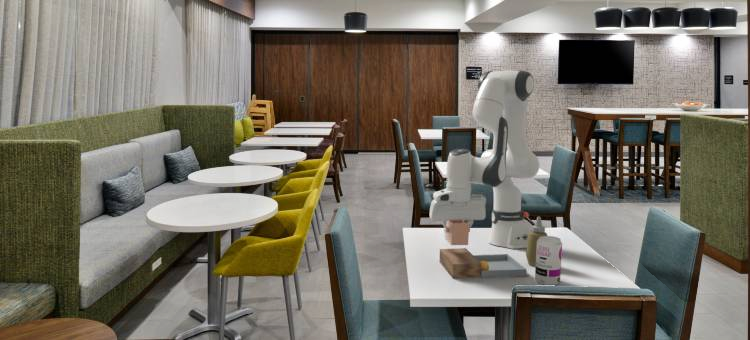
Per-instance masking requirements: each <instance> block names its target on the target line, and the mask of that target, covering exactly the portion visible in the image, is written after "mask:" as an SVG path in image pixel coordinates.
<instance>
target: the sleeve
mask: <svg viewBox="0 0 750 340" xmlns="http://www.w3.org/2000/svg"><path fill="white" fill-rule="evenodd" d="M446 226H447V227H449V228H450V229H449V233H445V239H444V240H446V242H447V243H448V244H449V245H450V246H469V236H470V235H469V233H470V232H469V222H468V220H454V221H447V223H446Z"/></svg>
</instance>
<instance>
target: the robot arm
mask: <svg viewBox="0 0 750 340" xmlns="http://www.w3.org/2000/svg"><path fill="white" fill-rule="evenodd" d="M477 82H478V83H477V89H478V90H477V94H476V97H475V100H474V103H473V107H472V112H471V113H472V117H473V120H474V122H475V123H476V124H477V125H478V126H480V127H481V128H483V129H484V130H487V131H488V132H490V133H492V134H493V135H492V136H493V143H492V149H486V150H485V151H483V153H482V154H481V156H480V157H478V156H474V155H472V153H471V151H470V150H469V149H467V148H456V149H453V150H451V151H450V152H449V154H448V157H447V164H446V177H447V181H446V184H445V185H446V187H445V188H443V189H441V190H438V191H434V192H433V194H432V197H433V199H432V201H431V203H430V206H429V207H430V208H429V218H430V220H432V221H433V222H438V221H439V222H440V221H441V224H442V226H443V227H444V230H443V231H444V234H446V233H449V229H450V228H449V227H447V226H446V223H447V221H454V220H466V221H467V222H468V223H469V233H470V232H471V227H472V226H473V224H474V221H483V220H485V218H486V216H487V215H486V213H487V211H486V204H487V198H486V196H485V195H483V194H481V193H479V194H477V193H476V194H475V193H473V194H472V184H477V185H484V186H487V187H491V188H492V191H493V208H491V210H492V211H491V229H490V234H489V237H488V243H489V244H491V245H493V246H496V247H502V248H503V247H504V248H508V249H511V250H513V249H514V250H515V249H527V244H528V237H529V232H531V231H532V226H534V224H533V225H532V223H530V222H529V221H528V220H526V219H525V218H529V216H530V214H529V212H527V211H524V210H522V205H521V204H522V192H521V190H520V189H519V187H518V186H516V185H515V184H514V182H513V180H512V178H514V179H520V180H521V179H522V180H523V179H524V180H525V179H532V178H535V176H536V175H537V174H538V172H539V170H540V161H539V158H538V156H537V155H536V154H535V153H534V152H533V151H532V150H531V148H530V146H529V143H528V140H527V127H526V126H527V115H528V114H527V109H528V108H527V107H528V106H527V105H528V104H527V99H528V98H529V97H531V94H533V91H534V87H535V79H534V76H533V75H532V74H531V72H529V71H526V70H515V69H513V70H512V69H511V70H510V69H505V70H494V71H492V70H490V71H486V72H483V73H482V74H481V75H480V76H479V77H478V81H477Z"/></svg>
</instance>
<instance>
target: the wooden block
mask: <svg viewBox="0 0 750 340" xmlns="http://www.w3.org/2000/svg"><path fill="white" fill-rule="evenodd" d="M473 255H474V254H473V253H471V252H470V251H469V250H468V249H467V248H466V247H465V248H461V247H459V248H439V263H440V265H441V266H442V267H443V268H444V269H445V271H446V272H447V274H448V275H449V276H450V277H451V278H452V279H469V278H470V279H471V278H472V279H473V278H481V262H480V261H478V260H477V259H476V258H475V257H474V256H473Z"/></svg>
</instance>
